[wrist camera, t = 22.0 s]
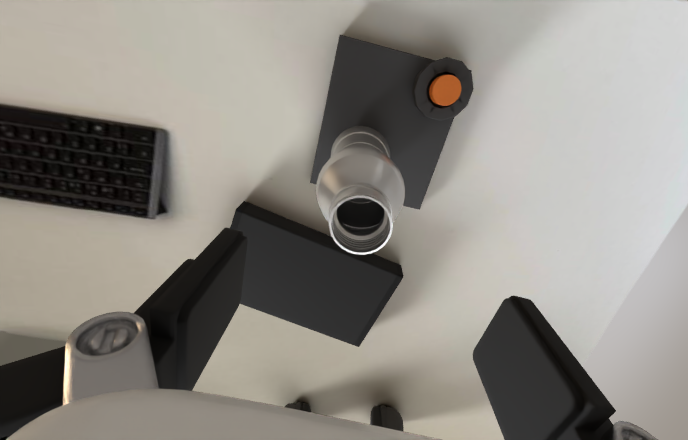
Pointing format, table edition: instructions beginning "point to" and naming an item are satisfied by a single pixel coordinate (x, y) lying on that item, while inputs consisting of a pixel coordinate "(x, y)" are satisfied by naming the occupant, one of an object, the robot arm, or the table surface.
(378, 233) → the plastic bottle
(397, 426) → the headphones
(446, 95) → the button
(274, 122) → the table surface
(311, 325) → the external hard drive
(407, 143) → the scale
